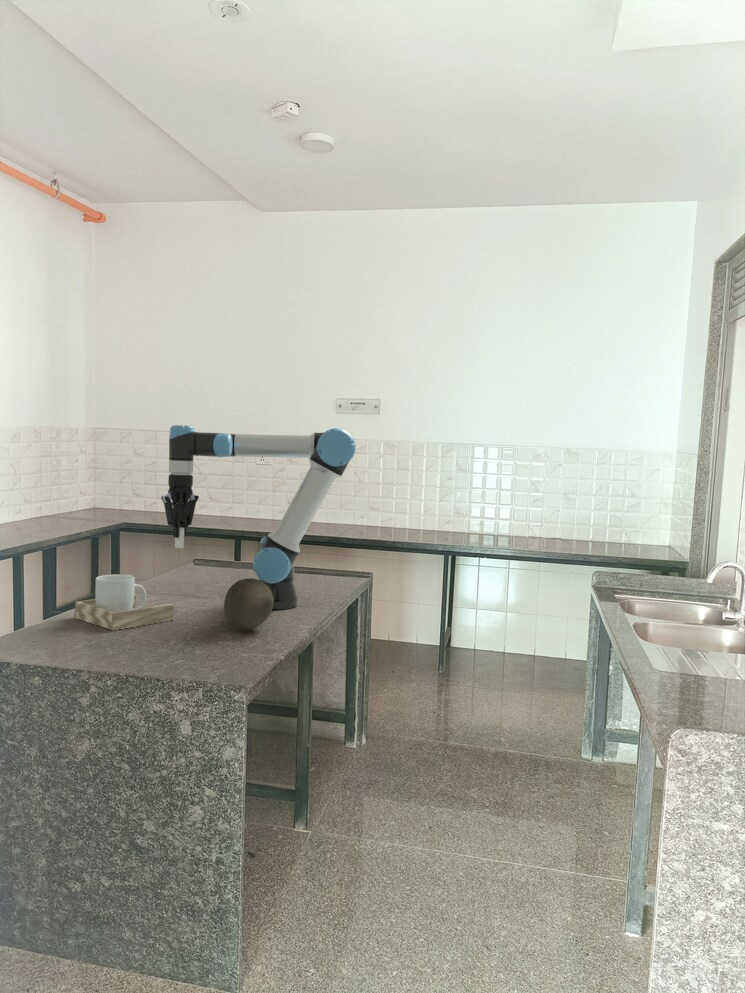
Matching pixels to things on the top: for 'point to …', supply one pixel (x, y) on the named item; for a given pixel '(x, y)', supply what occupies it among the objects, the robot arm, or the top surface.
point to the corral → (122, 615)
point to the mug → (117, 592)
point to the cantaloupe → (248, 604)
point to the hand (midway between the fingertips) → (179, 547)
